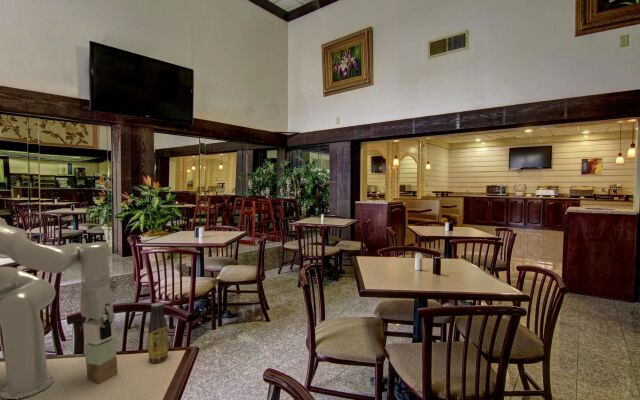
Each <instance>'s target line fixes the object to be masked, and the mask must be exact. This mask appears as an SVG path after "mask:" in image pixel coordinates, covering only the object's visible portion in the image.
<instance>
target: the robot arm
mask: <svg viewBox="0 0 640 400" xmlns="http://www.w3.org/2000/svg"><path fill="white" fill-rule="evenodd" d="M0 255H4V256H6V257H8V258H10V259H11V260H12V261H13V262H15V263H17V264H18V265H20V266H21V267H24V268H27V269H30V270H35V271H39V272H43V273H49V274H58V273H63V272H66V271H67V270H69V269H72V268H74V267H76V266H80V276H81V289H80V305H79V306H80V315H81V317H83V318H85V322H88V321H91V320H99V321H100V324H101V327H100V339H101V340H104V339H106V338H108V337H111V324H112V321H113V319H115V318H116V315H115V313H114V303H113V295H112V290H111V286H110V284H111V282H110V279H111V278H110V277H111V276H110V267H109V266H110V264H109V250H108V245H107V243H105V242H90V243H89V242H88V243H79V242H71V243H66V244H62V245H59V246H57V247H52V246H48V245H44V244H41V243H38V242H35V241H32V240H30V239H29V238H28V232H27V231H26V230H25V229H23V228H20V227H19V228H18V227H15V226H12V225H8V223H7V222H6V220H5V219H3V218H2V217H1V216H0ZM56 294H57V293H56V289H55V286H54V285H53V284H52V283H50V282H49V281H48V280H46V279H43V278H41V277H40V276H39V277H38V276H37V275H34V274H32V273H29V272H27V271H24V270H22V269H19V268H17V267H13V266H0V328H1V335H2V343H3V344H2V345H3V353H4V364H5V365H4V366H5V377H6V378H5V379H6V386H5V387H4V388H3V389H2V390H1V391H0V398H1V397H2V398H4V399H16V398H21V397H25V398H28V397H31V396H34V395H37V394H39V393H40V392H42V391H44V390H46V389H48V388H49V387H50V386H52V384H53V383H54V381H55V376H54V375H53V374H52V373H48V365H47V364H48V363H47V353H46V352H47V351H46V339H45V328H44V324H43V321H42V319H41V316H40V314H39V312H40V311H42V310H43V309H44V308H46V307H47V306H49V305H50V304H51V303H52V302H53V301H54V300H55V297H56ZM104 318H107V319H106V320H105V322H104V320H103V319H104ZM27 396H28V397H27ZM2 398H1V399H2ZM4 399H3V400H4Z"/></svg>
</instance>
